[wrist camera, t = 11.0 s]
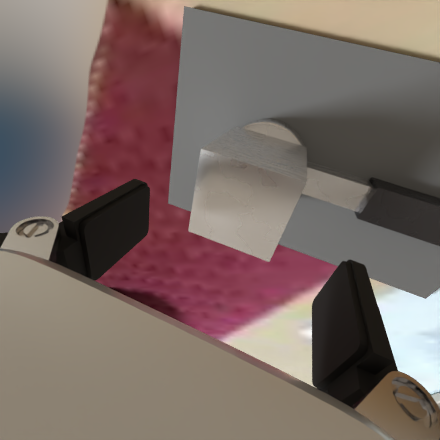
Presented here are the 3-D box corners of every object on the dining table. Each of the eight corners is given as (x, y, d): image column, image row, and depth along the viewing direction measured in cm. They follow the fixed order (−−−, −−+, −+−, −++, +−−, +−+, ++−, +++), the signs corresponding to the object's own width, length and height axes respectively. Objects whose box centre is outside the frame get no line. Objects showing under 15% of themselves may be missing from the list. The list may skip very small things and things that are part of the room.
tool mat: (638, 108, 13) (656, 110, 12) (422, 292, 22) (425, 298, 22) (188, 9, 17) (184, 6, 16) (171, 200, 27) (168, 203, 26)
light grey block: (307, 146, 16) (306, 182, 10) (280, 208, 19) (269, 261, 14) (236, 126, 17) (200, 148, 11) (221, 188, 20) (188, 230, 14)
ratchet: (524, 190, 15) (646, 252, 10) (444, 260, 19) (500, 333, 14) (237, 108, 19) (206, 120, 13) (220, 183, 23) (191, 217, 17)
